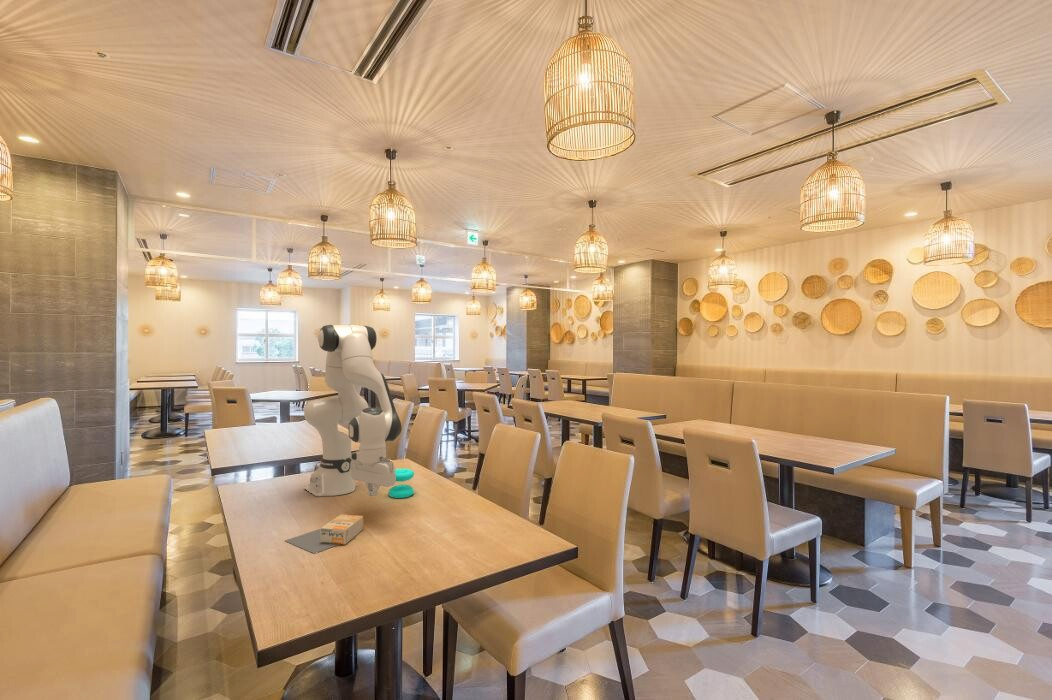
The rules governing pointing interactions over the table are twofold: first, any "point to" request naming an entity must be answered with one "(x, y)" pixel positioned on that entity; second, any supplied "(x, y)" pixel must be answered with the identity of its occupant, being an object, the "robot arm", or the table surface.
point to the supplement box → (341, 529)
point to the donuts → (402, 490)
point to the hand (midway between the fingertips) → (372, 495)
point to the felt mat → (311, 542)
